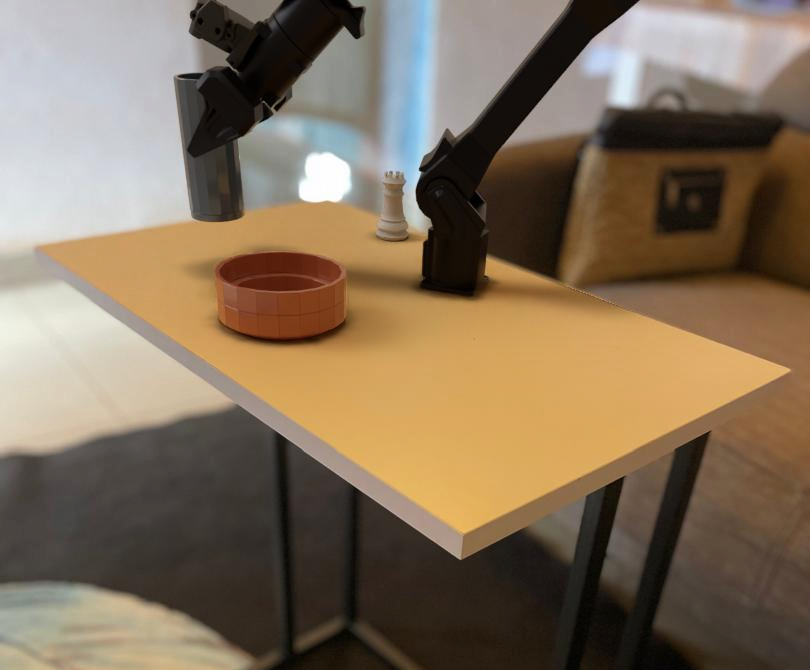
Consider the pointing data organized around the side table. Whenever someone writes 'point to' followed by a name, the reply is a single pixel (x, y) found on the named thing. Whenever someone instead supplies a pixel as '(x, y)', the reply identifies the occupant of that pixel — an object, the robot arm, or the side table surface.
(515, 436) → the side table surface
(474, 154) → the robot arm
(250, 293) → the bowl
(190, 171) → the vase
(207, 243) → the side table surface
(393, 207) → the rook chess piece
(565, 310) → the side table surface
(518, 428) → the side table surface
